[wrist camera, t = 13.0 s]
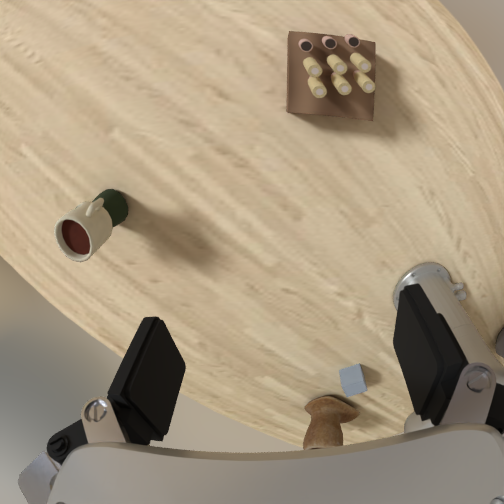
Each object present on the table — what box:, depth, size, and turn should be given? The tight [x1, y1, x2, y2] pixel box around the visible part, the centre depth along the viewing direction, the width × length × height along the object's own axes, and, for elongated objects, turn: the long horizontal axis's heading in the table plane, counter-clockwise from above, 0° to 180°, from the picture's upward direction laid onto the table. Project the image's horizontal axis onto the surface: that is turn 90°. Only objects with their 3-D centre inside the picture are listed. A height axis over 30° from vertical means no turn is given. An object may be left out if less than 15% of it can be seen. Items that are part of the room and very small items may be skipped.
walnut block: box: [287, 31, 375, 121], centre depth 33 cm, size 11×11×5 cm
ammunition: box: [299, 34, 376, 98], centre depth 28 cm, size 5×7×8 cm
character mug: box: [54, 189, 128, 262], centre depth 41 cm, size 11×7×13 cm, turn 141°
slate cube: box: [339, 363, 367, 397], centre depth 60 cm, size 5×5×5 cm
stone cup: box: [303, 396, 360, 450], centre depth 64 cm, size 15×12×15 cm
